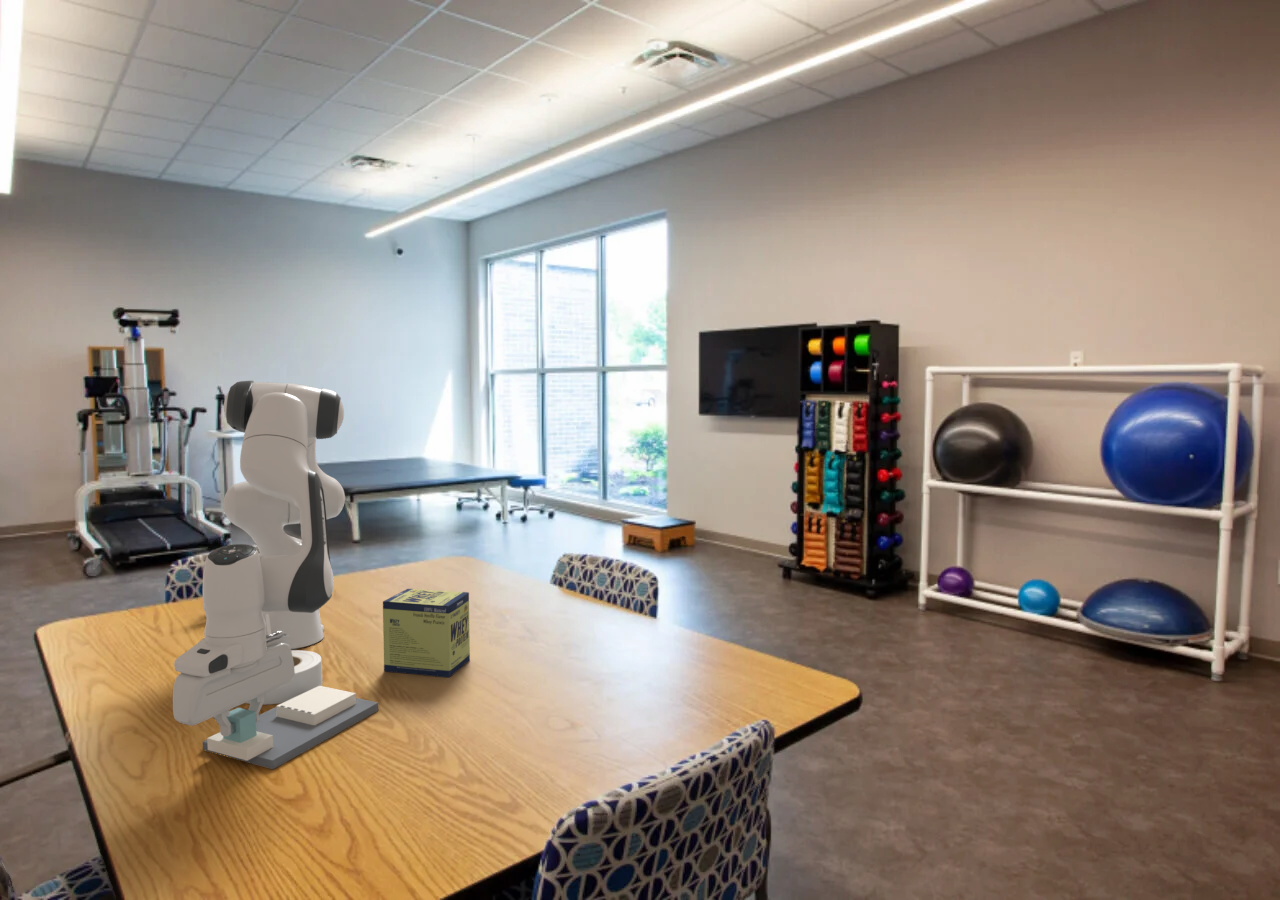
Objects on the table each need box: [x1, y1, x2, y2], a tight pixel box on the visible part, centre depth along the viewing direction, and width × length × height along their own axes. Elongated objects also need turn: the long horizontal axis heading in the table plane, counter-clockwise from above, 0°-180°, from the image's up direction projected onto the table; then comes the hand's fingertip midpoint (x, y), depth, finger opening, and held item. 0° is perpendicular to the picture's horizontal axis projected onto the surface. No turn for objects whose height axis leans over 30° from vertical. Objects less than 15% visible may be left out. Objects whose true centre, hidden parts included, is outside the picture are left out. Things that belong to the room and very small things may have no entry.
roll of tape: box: [244, 649, 323, 706], centre depth 155 cm, size 16×16×6 cm
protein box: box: [382, 588, 471, 678], centre depth 167 cm, size 10×16×16 cm
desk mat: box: [202, 697, 380, 770], centre depth 137 cm, size 16×24×2 cm, turn 157°
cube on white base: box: [206, 707, 273, 761], centre depth 126 cm, size 9×5×6 cm, turn 67°
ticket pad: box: [275, 685, 357, 726], centre depth 141 cm, size 9×10×2 cm
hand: (240, 728), depth 126 cm, fingers closed on cube on white base, 3 cm apart
